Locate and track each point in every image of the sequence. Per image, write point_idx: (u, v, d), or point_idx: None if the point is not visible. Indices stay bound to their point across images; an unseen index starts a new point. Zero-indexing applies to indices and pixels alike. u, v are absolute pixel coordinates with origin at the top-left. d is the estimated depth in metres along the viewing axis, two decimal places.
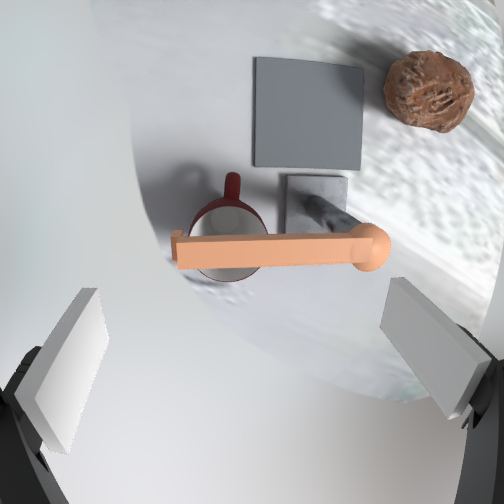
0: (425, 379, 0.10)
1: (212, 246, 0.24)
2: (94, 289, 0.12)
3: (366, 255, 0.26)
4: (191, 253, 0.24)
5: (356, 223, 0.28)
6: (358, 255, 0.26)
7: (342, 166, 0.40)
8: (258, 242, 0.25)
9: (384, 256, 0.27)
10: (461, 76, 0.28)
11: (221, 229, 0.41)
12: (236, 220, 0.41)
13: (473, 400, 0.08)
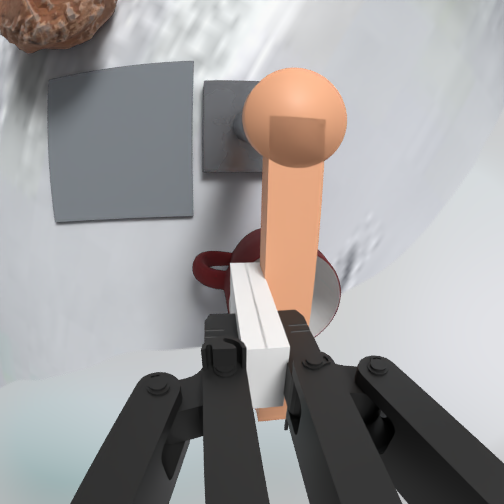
0: None
1: None
2: (244, 264, 0.15)
3: (309, 128, 0.12)
4: (274, 408, 0.17)
5: None
6: (309, 147, 0.12)
7: (187, 88, 0.24)
8: None
9: (315, 81, 0.11)
10: None
11: None
12: None
13: (285, 391, 0.10)
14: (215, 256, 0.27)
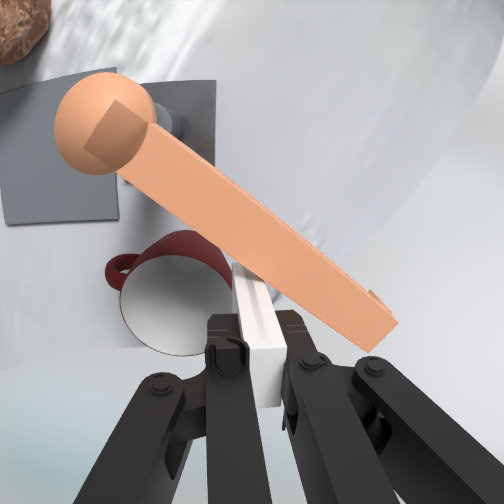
0: None
1: (339, 324, 0.14)
2: None
3: (112, 118, 0.10)
4: (368, 331, 0.15)
5: None
6: (127, 130, 0.10)
7: None
8: (281, 287, 0.13)
9: (80, 89, 0.10)
10: None
11: None
12: None
13: (282, 392, 0.10)
14: (132, 258, 0.26)
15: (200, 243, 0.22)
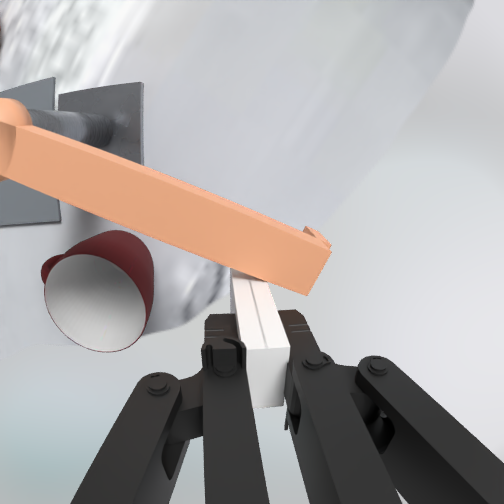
0: None
1: (252, 266, 0.13)
2: None
3: None
4: (294, 269, 0.13)
5: None
6: (3, 138, 0.10)
7: (48, 104, 0.23)
8: (167, 239, 0.12)
9: None
10: None
11: None
12: None
13: (285, 391, 0.10)
14: None
15: (115, 242, 0.21)
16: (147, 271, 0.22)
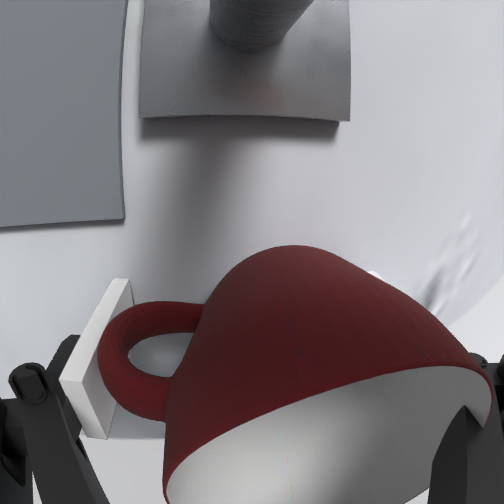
0: None
1: None
2: (126, 280, 0.13)
3: None
4: None
5: None
6: None
7: None
8: None
9: None
10: None
11: None
12: None
13: None
14: (161, 314, 0.11)
15: (401, 293, 0.07)
16: None
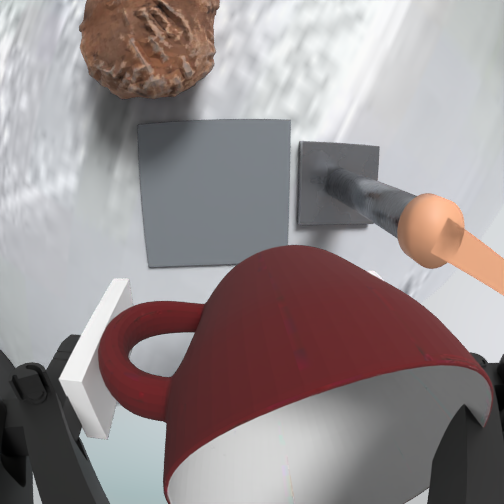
0: None
1: None
2: (126, 280, 0.13)
3: (447, 230, 0.15)
4: None
5: (391, 223, 0.18)
6: (454, 235, 0.15)
7: (285, 147, 0.29)
8: None
9: (427, 213, 0.15)
10: None
11: None
12: None
13: None
14: (162, 314, 0.11)
15: (402, 293, 0.07)
16: None
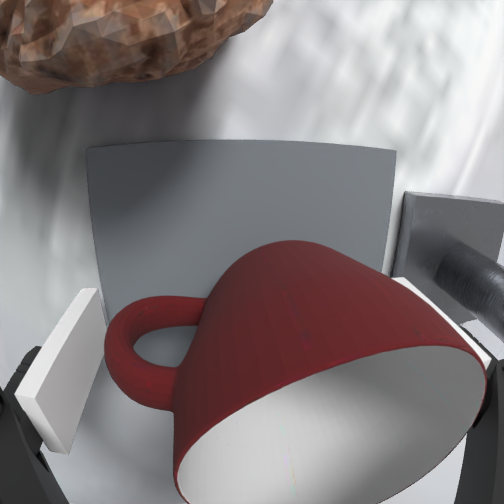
0: None
1: None
2: (94, 289, 0.12)
3: None
4: None
5: None
6: None
7: (384, 203, 0.14)
8: None
9: None
10: None
11: None
12: None
13: None
14: (165, 308, 0.11)
15: (396, 282, 0.07)
16: None
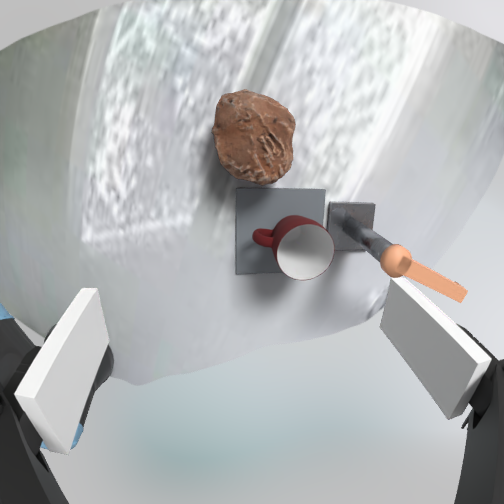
0: (425, 379, 0.10)
1: (453, 296, 0.41)
2: (94, 289, 0.12)
3: (402, 261, 0.37)
4: (460, 296, 0.41)
5: (378, 256, 0.40)
6: (406, 263, 0.37)
7: (322, 205, 0.50)
8: (439, 291, 0.40)
9: (393, 254, 0.37)
10: (240, 120, 0.36)
11: (297, 233, 0.51)
12: None
13: (473, 400, 0.08)
14: (263, 231, 0.47)
15: None
16: (327, 235, 0.44)
